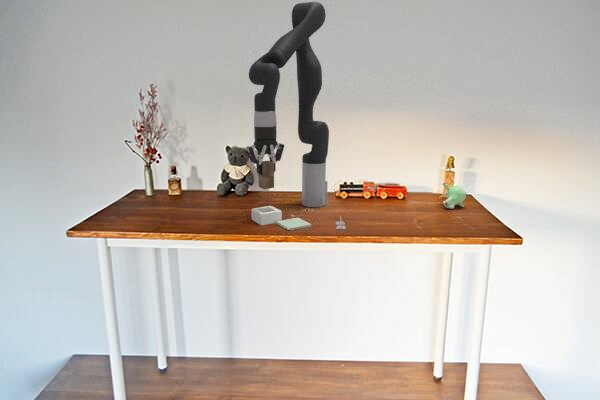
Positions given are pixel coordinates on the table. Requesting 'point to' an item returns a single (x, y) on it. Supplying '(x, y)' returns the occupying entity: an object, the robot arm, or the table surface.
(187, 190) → the table surface
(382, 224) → the table surface
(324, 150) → the robot arm
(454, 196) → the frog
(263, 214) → the pocket holder
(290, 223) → the green mat
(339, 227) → the grey eared piece
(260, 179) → the walnut block
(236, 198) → the table surface
